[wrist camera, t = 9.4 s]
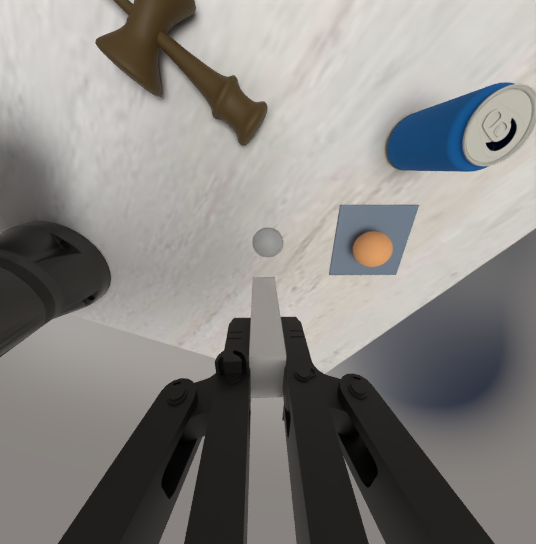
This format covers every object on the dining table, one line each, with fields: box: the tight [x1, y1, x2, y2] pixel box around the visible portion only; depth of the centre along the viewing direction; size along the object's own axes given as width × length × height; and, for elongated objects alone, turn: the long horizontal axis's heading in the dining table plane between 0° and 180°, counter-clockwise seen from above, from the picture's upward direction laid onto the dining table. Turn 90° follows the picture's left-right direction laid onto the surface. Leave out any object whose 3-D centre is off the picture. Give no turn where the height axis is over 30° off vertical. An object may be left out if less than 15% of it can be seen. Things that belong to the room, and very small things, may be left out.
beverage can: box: [388, 83, 536, 172], centre depth 22 cm, size 6×6×12 cm
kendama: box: [95, 0, 268, 145], centre depth 21 cm, size 6×10×20 cm
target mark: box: [329, 205, 419, 275], centre depth 34 cm, size 12×12×1 cm
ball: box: [353, 231, 393, 267], centre depth 31 cm, size 6×6×6 cm
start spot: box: [253, 228, 283, 257], centre depth 33 cm, size 5×5×1 cm
